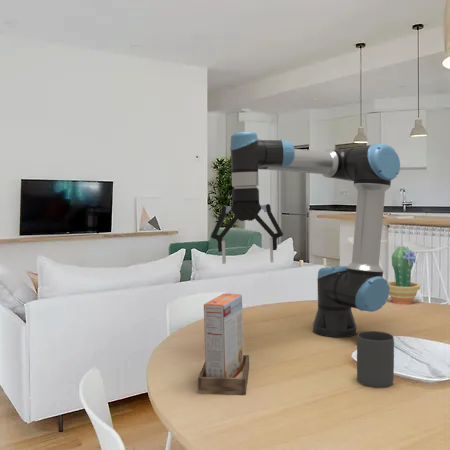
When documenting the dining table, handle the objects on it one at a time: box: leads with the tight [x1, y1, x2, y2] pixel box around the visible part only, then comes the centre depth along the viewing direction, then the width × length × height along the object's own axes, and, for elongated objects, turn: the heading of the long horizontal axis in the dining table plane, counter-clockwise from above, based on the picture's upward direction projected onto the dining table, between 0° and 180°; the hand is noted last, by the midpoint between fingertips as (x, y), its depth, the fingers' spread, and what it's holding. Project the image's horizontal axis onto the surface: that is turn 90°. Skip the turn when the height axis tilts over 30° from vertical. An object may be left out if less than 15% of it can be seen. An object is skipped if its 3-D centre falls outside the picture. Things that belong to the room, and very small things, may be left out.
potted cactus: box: [387, 245, 421, 305], centre depth 222 cm, size 15×15×25 cm
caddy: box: [197, 354, 250, 395], centre depth 130 cm, size 12×19×4 cm, turn 174°
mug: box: [356, 330, 395, 388], centre depth 130 cm, size 14×9×12 cm
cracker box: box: [203, 292, 244, 378], centre depth 130 cm, size 14×6×21 cm, turn 159°
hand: (247, 262), depth 141 cm, fingers open, 13 cm apart
